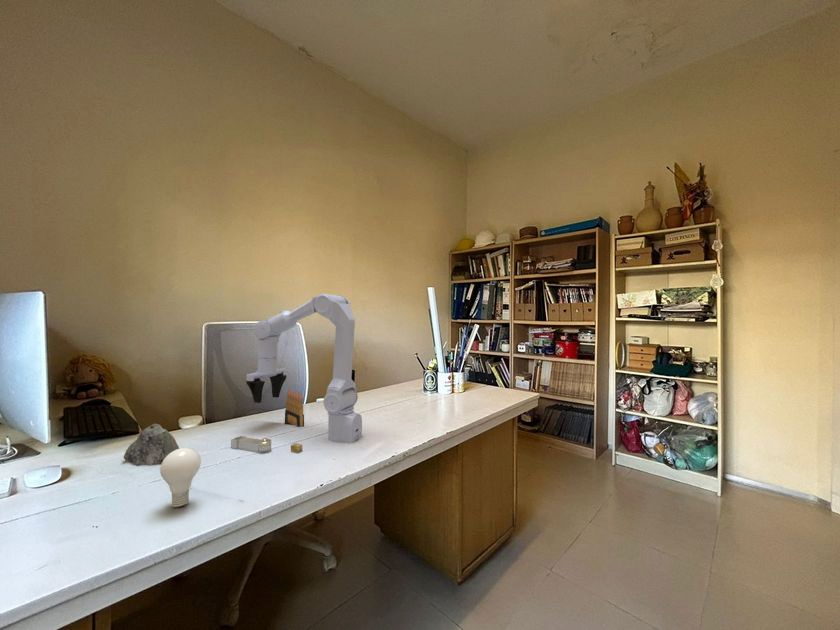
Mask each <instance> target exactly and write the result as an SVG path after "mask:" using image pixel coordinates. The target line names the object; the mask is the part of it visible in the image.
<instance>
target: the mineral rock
mask: <svg viewBox="0 0 840 630" xmlns="http://www.w3.org/2000/svg"><path fill="white" fill-rule="evenodd" d="M179 448H180V446H179V445H178V443H177V441H176V438H175V437H174V436H173V434H172V433H170V432H169V431H168V430H167V429H165V428H164V427H162V426H161V425H160V424H158V423H153V424H151V425H149V426H147V427H146V428H144V429H141V430H140V433H139V435H138V436H137V438H136V439H135V440H134V441H133V442H132V443H130V444H129V446H128V447H127V449H126V450H125V452H124V455H123V460H125V461H126V462H128V463H130V464H132V465H136V467H137V466H138V467H140V466H156V465H161V464H162V462H163V460H164V458H165V457H166V456H167V455H168V454H169V453H171V452H172V451H174V450H176V449H179Z"/></svg>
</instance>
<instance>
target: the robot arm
mask: <svg viewBox="0 0 840 630" xmlns="http://www.w3.org/2000/svg"><path fill="white" fill-rule="evenodd" d="M316 313H317V314H318V315H320V316H322V317H324V318H326V319H328V320H329V321H330V322H331V323H332V324H333V325H334V326H335V338H334V353H333V368H332V380H331V382H330V383H329V384H328V386H327V389H326V394H325V396H324V398H323V406H324V409H325V410H326V411H327V414H328V418H327V419H328V420H327V421H328V423H327V425H328V426H327V433H328V434H327V435H328V436H327V439H328V441H331V442H333V443H335V442H336V443H346V444H347V443H348V444H353V443H354V442H356V441H357V440H359V439H361V438H362V437H363V418H362V415H361V414H360V413H357V412H356V411H354V410H355V408H354V407H355V405H356V404H357V402H358V399H359V398H358V397H359V396H358V395H359V394H358V392H357V388H356V387H357V385H356V384H357V383H355V381H354V380H353V379H352V375H353V359H354V342H355V330H356V329H355V327H356V320H355V319H356V318H355V316H354V314H353V312H352V309H351V302H350V301H349V300H348V299H347V298H346V297H345V296H343V295H334V294H328V293H323V292H322V293H319V294H318V295H316V296H313V297H312V298H311V299H310V300H309V301H307V302H305V303H304V304H301V305H300V306H298V307H297V308H295V309H294V310H292V311H291V310H285V309H284V310H283V309H282V310H279V313H278V314H277V315H275V316H270V317H268V319H267V320H263V319H262V320H259V321H257V322H256V324H255V325H254V327H253V332H254V336H255V337H256V338H257V339H258V340H257V370H256V371H255V372H251V373H247V374H246V386H248V388H249V390H250V392H251V395H252V399H253V402H254V404H255V403H256V404H261V403H262V399H263V398H262V397H263V389H264V385H265V383H266V381H264V380H261V379H266V378H269V380H270V385H271V397H272V398H277V399H278V398H279V397H280V394H281V390H282V388H283V385H284V383H285V381H286V380H287V375H286V374H287V371H286V370H287V368H282V367H281V368H278V343H279V341H280V336H281V335H282V333H284V332H286V331H288V330H291V329H292V328H295V327H296V325H297V323H298V321H300V320H302V319H304V318H307V317H310V316H312V315H313V314H316Z"/></svg>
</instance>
